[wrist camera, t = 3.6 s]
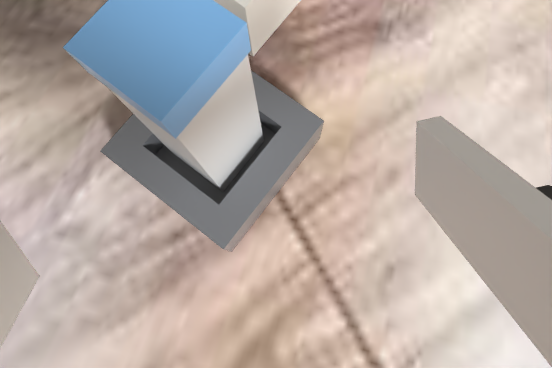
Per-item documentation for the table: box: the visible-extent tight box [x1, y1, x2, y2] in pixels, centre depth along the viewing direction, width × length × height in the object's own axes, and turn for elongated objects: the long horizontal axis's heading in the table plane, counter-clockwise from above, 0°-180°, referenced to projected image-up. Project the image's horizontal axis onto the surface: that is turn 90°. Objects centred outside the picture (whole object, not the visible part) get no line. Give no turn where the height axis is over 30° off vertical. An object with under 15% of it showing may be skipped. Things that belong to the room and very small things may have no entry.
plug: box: [63, 0, 264, 191], centre depth 18 cm, size 4×4×12 cm
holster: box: [101, 71, 324, 252], centre depth 23 cm, size 9×9×3 cm
